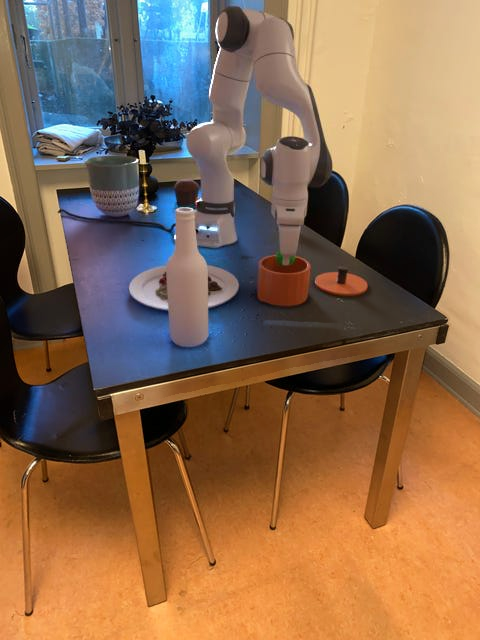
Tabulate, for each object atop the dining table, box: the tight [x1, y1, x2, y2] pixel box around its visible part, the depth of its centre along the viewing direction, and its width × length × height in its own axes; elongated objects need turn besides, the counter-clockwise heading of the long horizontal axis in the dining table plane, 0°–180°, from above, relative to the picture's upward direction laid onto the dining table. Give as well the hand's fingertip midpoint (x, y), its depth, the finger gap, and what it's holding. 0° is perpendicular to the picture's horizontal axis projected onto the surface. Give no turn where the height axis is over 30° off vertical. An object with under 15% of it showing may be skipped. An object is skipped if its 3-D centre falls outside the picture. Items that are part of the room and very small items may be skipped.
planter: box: [84, 155, 140, 218], centre depth 184 cm, size 20×20×21 cm
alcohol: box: [166, 206, 209, 348], centre depth 100 cm, size 9×9×30 cm
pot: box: [256, 254, 311, 307], centre depth 125 cm, size 14×14×10 cm
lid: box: [314, 265, 369, 297], centre depth 132 cm, size 15×15×6 cm
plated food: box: [128, 264, 240, 311], centre depth 128 cm, size 30×30×3 cm
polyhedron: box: [275, 249, 296, 267], centre depth 122 cm, size 5×5×5 cm
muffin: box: [172, 178, 201, 206], centre depth 205 cm, size 12×11×10 cm
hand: (285, 259), depth 122 cm, fingers closed on polyhedron, 5 cm apart
